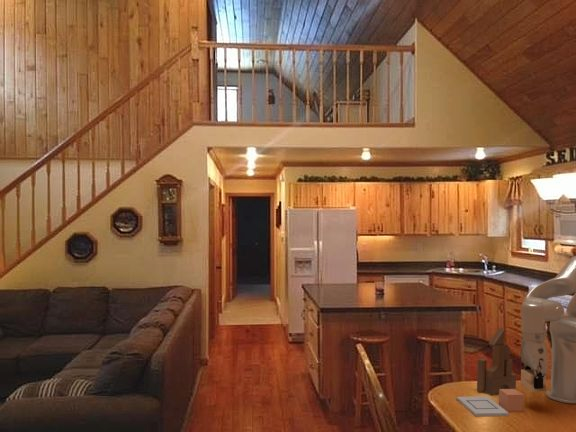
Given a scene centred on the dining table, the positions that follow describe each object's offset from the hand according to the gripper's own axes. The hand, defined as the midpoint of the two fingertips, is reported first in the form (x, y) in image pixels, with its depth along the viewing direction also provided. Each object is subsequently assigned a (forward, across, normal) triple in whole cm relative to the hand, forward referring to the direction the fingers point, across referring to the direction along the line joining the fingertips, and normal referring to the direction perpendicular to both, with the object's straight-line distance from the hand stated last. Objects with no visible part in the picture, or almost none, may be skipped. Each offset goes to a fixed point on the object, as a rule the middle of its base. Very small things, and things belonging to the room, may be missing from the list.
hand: (533, 384), depth 189 cm
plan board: (+7, 0, +20) cm, 21 cm away
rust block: (+8, -1, +9) cm, 12 cm away
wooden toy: (+9, +17, +6) cm, 20 cm away
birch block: (+1, 0, 0) cm, 1 cm away
